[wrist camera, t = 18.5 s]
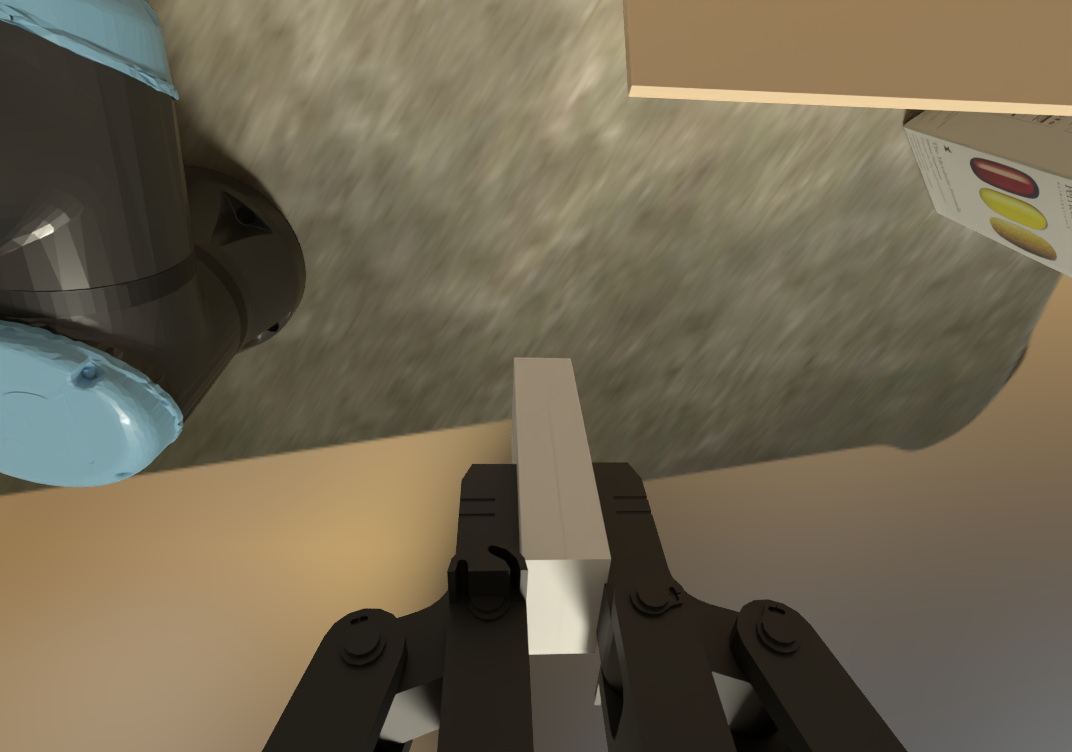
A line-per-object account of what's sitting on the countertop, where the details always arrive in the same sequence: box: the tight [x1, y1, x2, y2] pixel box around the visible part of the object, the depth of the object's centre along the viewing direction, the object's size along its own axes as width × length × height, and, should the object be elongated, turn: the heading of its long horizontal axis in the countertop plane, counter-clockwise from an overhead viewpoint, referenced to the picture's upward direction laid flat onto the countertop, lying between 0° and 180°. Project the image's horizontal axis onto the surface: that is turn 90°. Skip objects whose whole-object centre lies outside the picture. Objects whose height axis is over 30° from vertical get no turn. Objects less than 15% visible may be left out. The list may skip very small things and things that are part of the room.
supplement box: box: [904, 110, 1072, 278], centre depth 39 cm, size 10×9×17 cm
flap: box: [623, 0, 1072, 116], centre depth 25 cm, size 22×10×1 cm
